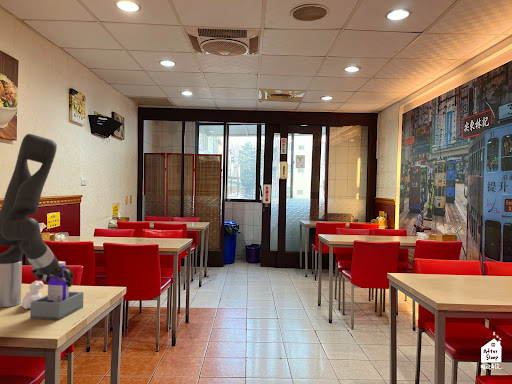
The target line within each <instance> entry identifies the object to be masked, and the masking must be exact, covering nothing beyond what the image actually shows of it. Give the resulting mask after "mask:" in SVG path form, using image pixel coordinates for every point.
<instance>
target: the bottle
mask: <svg viewBox="0 0 512 384" xmlns="http://www.w3.org/2000/svg"><path fill="white" fill-rule="evenodd" d="M58 263H59V266H60V267H61V268H62V269H66V261H60V260H58ZM61 274H62V273H60V275H59V277H60V276H61ZM64 278H66V276H64ZM69 292H70V287H68V286H67V284H66V283H65V281H63V280H59V279H57V278H55V277H51V278H50V280H49V282H48V284H47V295H48V301H47V302H61V301H63V300H65V299H67V298H69Z"/></svg>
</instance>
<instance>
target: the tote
mask: <svg viewBox="0 0 512 384" xmlns="http://www.w3.org/2000/svg"><path fill="white" fill-rule="evenodd" d="M47 301H48V294H47V295H44V296H42V298H39V299H37V300H35V301H32V302H31V308H30V309H29V310H30V314H29V316H30V317H29V318H30V319H32V320H51V321H60V320H62V319H64V318H66V317H68V316H69V315H71V314H73V313H75V312H77V311H79V310H81V309H82V308H84V291H69V298H67V299H65V300H63V301H61V302H47Z"/></svg>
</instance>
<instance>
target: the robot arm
mask: <svg viewBox="0 0 512 384" xmlns="http://www.w3.org/2000/svg"><path fill="white" fill-rule="evenodd" d="M57 146H58V145H57V142H56V141H55V140H52V139H49V138H46V137H43V136H40V135H36V134H32V133H27V134H26V135H24V137H23V139H22V141H21V144H20V147H19V151H18V154H17V158H16V161H15V162H16V163H15V166H14V170H13V173H12V175H11V178H10V181H9V183H8V186H7V188H6V190H5V191H6V192H5V194H4V198H3V201H2V205H1V208H0V247H4V246H5V247H6V246H10V247H9V248H8V249H7V250H5V251H4V252H1V253H0V308H9V307H14V306H17V305H20V304H22V276H23V274H22V273H23V272H22V270H23V269H22V267H23V256H24V255H25V256H26V259H27V260H28V262H29V263H30V265H31V266H32V269H31V271H30V273H31V274H32V275H33V276H34V277H35V278H36V279H37V280H36V281H42V282H45V283H46V285H48V282H49V280H50V278H51V277H55V278H57V279H59V280H63V281H65V283H66V284H67V286H68V287H69V288H71V287H72V285H73V283H74V281H73V279H74V277H75V274H74V273H73V271H72V269H71V267H69V266H65V268H66V269H62V268H61V267H60V266H59V263H58V262H59V260H58V259H57V257H56V256H55V254H54V253H53V251H52V250H51V249H50V247H49V246H48V245H47V244H46V243H45V241H44V240H43V236H42V233H41V228H40V224H39V221H37V220H36V219H35V218H33V217H29V216H32V215H34V214H36V213H37V212H38V209H39V206H40V201H41V196H42V193H43V189H44V186H45V183H46V182H47V179H48V177H49V174H50V170H51V168H52V166H53V163H54V159H55V157H56V155H57ZM28 161H32V162H36V163H39V164H41V165H40V167H39V169H38V170H37V171H35V172H34V173H33V174H32V175H31V172H30V169H29V164H28ZM60 273H62V274H61V276H60V277H59V275H60ZM64 276H66V278H64Z"/></svg>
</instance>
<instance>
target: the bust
mask: <svg viewBox="0 0 512 384" xmlns="http://www.w3.org/2000/svg"><path fill="white" fill-rule="evenodd" d="M44 287H45V285H44V281H43V280H35V281H33V282H31V283H30V285H29V287H28V288H29V291H28V292H27V293H26V294H25V296H24V297H23V299H22V300H21V305H22V307H23V309H25V310H29V309H31V302H32V301H35V300H37V299H39V298H42V297H43V296H42V295H43V294H42V292H40V289H41V290H42V289H43V288H44Z"/></svg>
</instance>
